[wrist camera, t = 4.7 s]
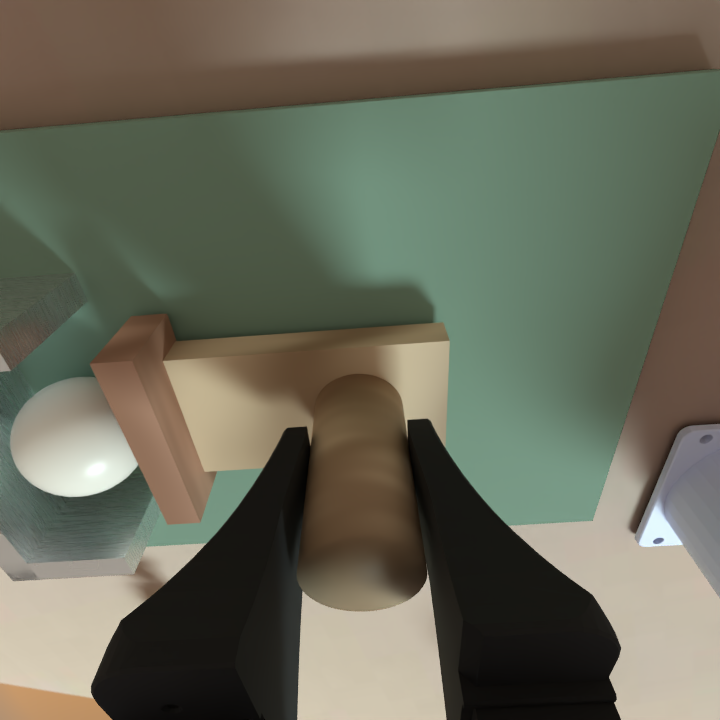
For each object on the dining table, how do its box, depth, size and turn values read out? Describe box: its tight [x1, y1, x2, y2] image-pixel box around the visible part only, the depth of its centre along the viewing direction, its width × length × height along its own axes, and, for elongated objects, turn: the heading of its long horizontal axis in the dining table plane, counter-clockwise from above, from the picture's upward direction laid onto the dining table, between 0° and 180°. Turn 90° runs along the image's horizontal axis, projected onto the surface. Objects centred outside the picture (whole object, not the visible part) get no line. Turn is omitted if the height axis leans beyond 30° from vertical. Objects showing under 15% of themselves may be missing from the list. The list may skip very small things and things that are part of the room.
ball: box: [10, 377, 138, 497], centre depth 15 cm, size 4×4×4 cm
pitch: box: [0, 69, 720, 547], centre depth 17 cm, size 24×18×1 cm
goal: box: [0, 273, 161, 581], centre depth 15 cm, size 4×10×4 cm, turn 4°
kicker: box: [90, 314, 450, 611], centre depth 14 cm, size 10×7×7 cm
